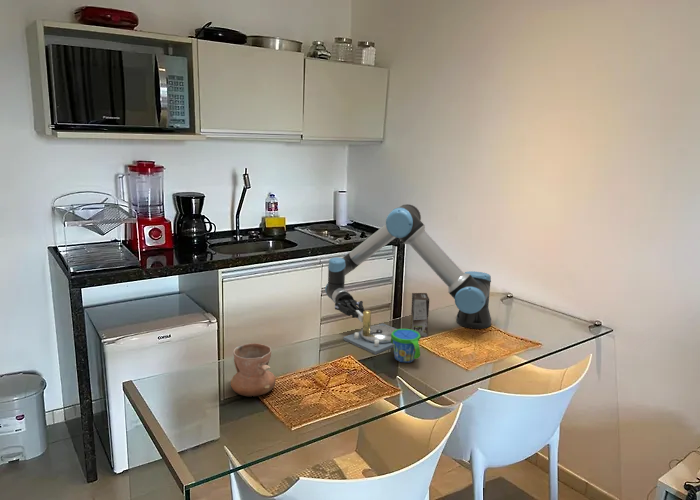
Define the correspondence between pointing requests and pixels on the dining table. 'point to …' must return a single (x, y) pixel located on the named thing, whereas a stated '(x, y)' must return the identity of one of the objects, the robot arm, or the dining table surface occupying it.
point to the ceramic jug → (252, 370)
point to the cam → (375, 330)
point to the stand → (366, 345)
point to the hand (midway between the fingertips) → (362, 318)
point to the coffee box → (420, 313)
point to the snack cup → (405, 345)
